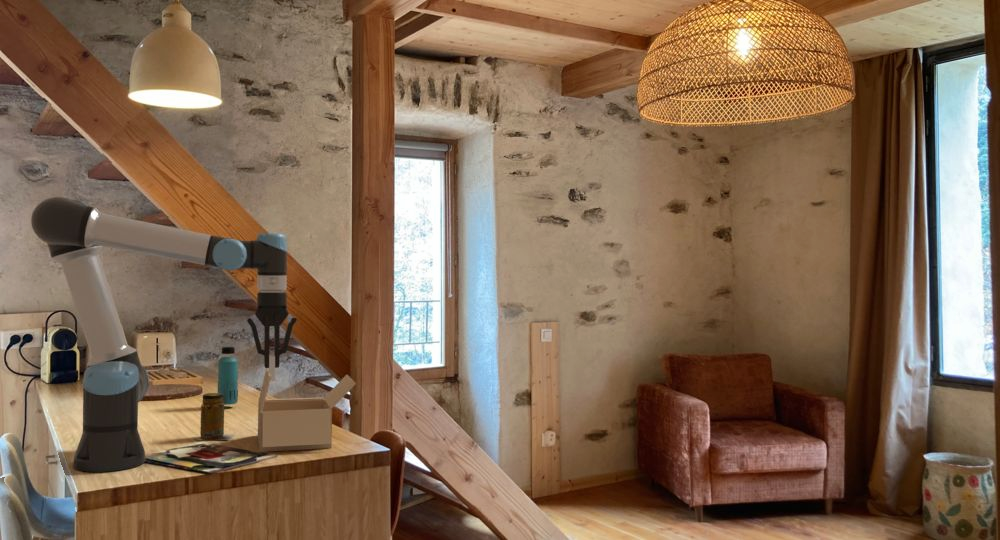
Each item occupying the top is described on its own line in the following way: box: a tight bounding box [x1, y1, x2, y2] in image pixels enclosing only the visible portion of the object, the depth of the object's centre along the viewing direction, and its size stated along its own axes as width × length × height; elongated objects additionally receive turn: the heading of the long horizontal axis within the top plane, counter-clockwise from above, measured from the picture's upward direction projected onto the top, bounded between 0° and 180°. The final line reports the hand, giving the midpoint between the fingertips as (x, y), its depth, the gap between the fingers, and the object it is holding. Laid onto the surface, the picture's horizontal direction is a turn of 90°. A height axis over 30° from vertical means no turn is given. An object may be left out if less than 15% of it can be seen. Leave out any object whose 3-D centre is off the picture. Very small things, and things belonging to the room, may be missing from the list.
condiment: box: [195, 392, 234, 442], centre depth 214 cm, size 7×8×12 cm
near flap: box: [262, 409, 331, 447], centre depth 200 cm, size 17×1×9 cm, turn 109°
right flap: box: [323, 374, 357, 410], centre depth 214 cm, size 1×15×9 cm
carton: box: [257, 398, 333, 453], centre depth 210 cm, size 18×16×10 cm
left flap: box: [258, 368, 271, 411], centre depth 207 cm, size 1×15×9 cm, turn 19°
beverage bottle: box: [217, 346, 239, 406], centre depth 257 cm, size 6×7×20 cm
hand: (271, 380), depth 208 cm, fingers closed
